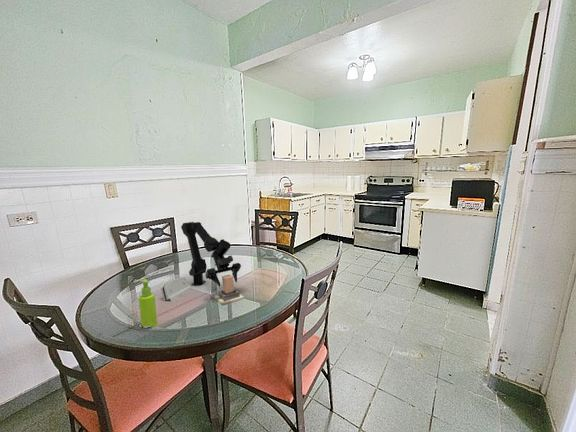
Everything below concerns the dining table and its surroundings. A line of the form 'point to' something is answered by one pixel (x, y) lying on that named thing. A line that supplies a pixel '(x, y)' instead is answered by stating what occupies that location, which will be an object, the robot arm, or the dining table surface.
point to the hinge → (175, 289)
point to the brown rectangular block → (228, 284)
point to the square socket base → (228, 297)
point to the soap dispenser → (147, 305)
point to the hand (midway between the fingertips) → (228, 284)
